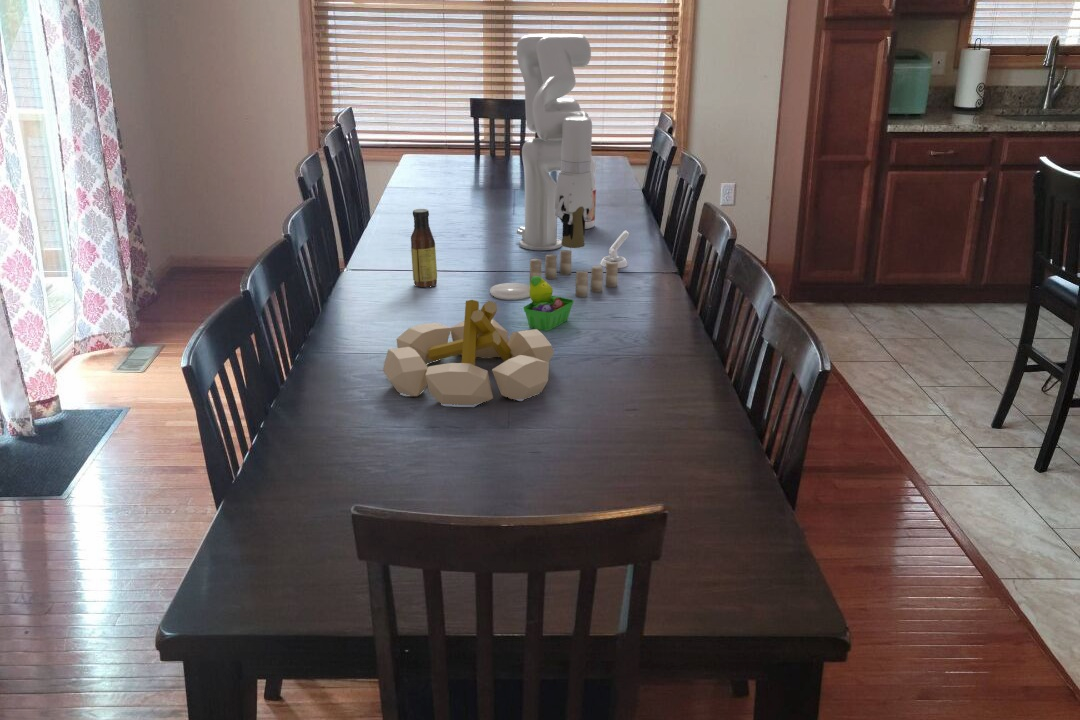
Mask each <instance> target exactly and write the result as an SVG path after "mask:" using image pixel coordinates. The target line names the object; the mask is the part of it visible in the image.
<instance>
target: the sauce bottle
mask: <svg viewBox="0 0 1080 720" xmlns="http://www.w3.org/2000/svg"><path fill="white" fill-rule="evenodd" d="M429 212H430V211H429V209H427V208H415V209H413V210H412V216H413V227H414V228H413V231H412V234H411V236H410V243H411V244H410V253H411V265H412V278H413V279H412V280H413V284H415V285H416V286H415V285H414V286H415V287H418V286H420V287H419V288H421V287H428V288H431V287H430V286H433V287H435V286H436V285H437V283H438V267H437V255H436V253H437V252H436V242H435V239H434V236H433V233H432V230H431V227H430V223H429V217H430V213H429ZM434 285H435V286H434Z"/></svg>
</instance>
